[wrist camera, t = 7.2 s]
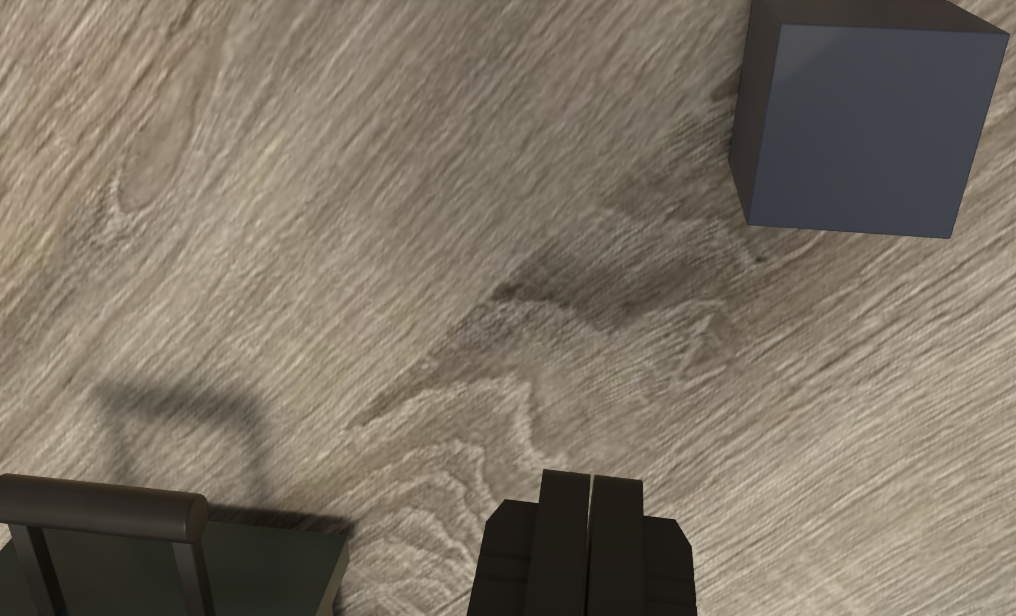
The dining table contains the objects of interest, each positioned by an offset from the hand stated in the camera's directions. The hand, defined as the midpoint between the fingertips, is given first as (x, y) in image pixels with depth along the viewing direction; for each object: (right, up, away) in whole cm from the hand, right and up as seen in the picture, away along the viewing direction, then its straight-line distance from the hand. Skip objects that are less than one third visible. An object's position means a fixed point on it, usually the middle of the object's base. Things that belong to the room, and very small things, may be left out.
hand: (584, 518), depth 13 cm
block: (+7, +9, +9) cm, 14 cm away
